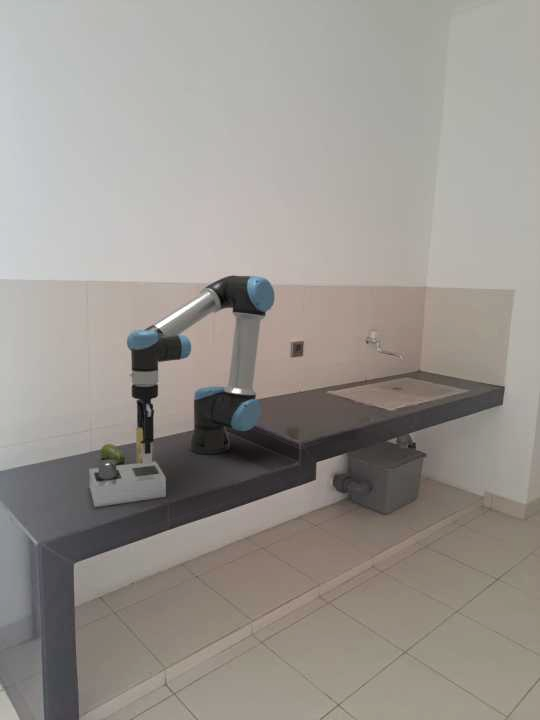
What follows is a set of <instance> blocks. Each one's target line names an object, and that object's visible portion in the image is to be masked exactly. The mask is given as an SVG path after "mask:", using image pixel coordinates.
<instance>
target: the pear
mask: <svg viewBox="0 0 540 720" xmlns="http://www.w3.org/2000/svg"><path fill="white" fill-rule="evenodd" d="M100 457H102V458H103V460H115V461H116V465H117V464H122V463H125V459H126V457H125V454H124V453H123V452H122V451H121V450H120V449H119V448H118V447H117V446H116V445H114V444H113V443H107V444H105V445H103V446H102V447H101V449H100Z"/></svg>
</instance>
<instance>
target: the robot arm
mask: <svg viewBox="0 0 540 720" xmlns="http://www.w3.org/2000/svg"><path fill="white" fill-rule="evenodd" d="M274 303H275V290H274V287H273V285H272V283H271V282H270V281H269V280H268V279H267V278H265V277H262V276H261V277H260V276H257V275H255V276H254V275H252V276H250V275H228V276H224V277H223V278H220V279H218V280H216V281H213V282H211V283H210V284H209V285H207V286H205V287H204V288H203V289H201V290H200V292H199V295H197V296H195V297H193V298H192V299H190V300H189V301H188V302H186V303H184V304H182V305H181V306H180V307H178V308H177V309H175V310H173V311H171V312H170V313H169V314H167V315H166V316H164V317H162V318H161V319H159V320H157V321H156V322H154V323H153V324H151V325H150V326H149V327H146V328H145V329H137V330H133V331H131V332H130V333H129V334H128V336H127V339H126V345H127V348H128V350H130V352H131V353H130V354H131V359H130V360H131V372H130V373H129V377H131V383H132V385H131V397H132V398H133V399H136V401H135V402H136V412H137V413H136V416H137V418H136V421H137V422H136V428H137V427H140V426H142V430H143V441H140V442H141V443H142V464H148V463H152V442H155V441H154V439H153V428H154V415H155V414H154V413H155V410H154V403H152V399H156V398H158V397H159V385H158V383H159V363H162V362H163V363H164V362H169V361H180V360H184V359H186V358H188V357H189V356H190V355H191V352H192V343H191V340H190V338H189V337H188V336H186V335H184V334H182V333H183V332H185V331H187V330H188V329H189V328H191V327H193V326H194V325H195V324H197V323H199V322H200V321H201V320H203V319H205V318H206V317H207V316H209V315H210V314H212V313H218V312H219V311H221V310H224V309H231V308H232V314H233V316H234V318H235V327H234V333H233V334H234V335H233V343H232V351H231V352H232V353H231V361H230V369H229V377H228V378H229V379H228V385H227V386H226V387H225V386H208V387H200V388H198V389H196V390H195V392H194V398H193V429H192V433H191V436H190V439H189V442H188V443H189V445H188V448H189V450H190V451H191V452H193V453H196V454H201V455H215V454H216V455H217V454H222V453H225V452H227V451H229V450H230V445H231V444H230V443H231V442H230V439H229V435H228V433H227V432H228V431H227V430H226V428H228V429H229V428H231V429H233V430H235V431H242V432H247V431H249V430H252V429H253V428H254V427H255V426H256V424H257V423H258V422H259V419H260V416H261V412H262V408H261V405H260V402H259V401H258V400H257V399H256V398H257V396H256V395H257V393H256V391H255V390H254V388H253V386H254V378H255V368H256V360H257V354H258V353H257V352H258V344H259V343H258V342H259V337H260V327H261V321H262V320H263V319H265V317H266V314H267V312H268V311H269V310H271V309H272V307H273V305H274Z"/></svg>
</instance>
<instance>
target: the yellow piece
mask: <svg viewBox="0 0 540 720" xmlns="http://www.w3.org/2000/svg"><path fill="white" fill-rule="evenodd" d="M135 431H136V432H135V434H136V435H135V436H136V438H135V439H136V440H135V443H136V447H135V448H136V450H135V451H136V452H135V453H136V454H135V455H136V456H135V457H136V458H135V459H136V461H135V462H136V463H142V443H141V442H140V441H143V430H142V426H140V427H137V426H136V427H135ZM154 432H155V431H154V427H153V439H154V438H155V437H154ZM154 442H155V441H154ZM154 442H152V462H153V461H155V460H154V456H155V455H154V454H155V453H154V451H155V450H154V449H155V448H154V447H155V446H154Z"/></svg>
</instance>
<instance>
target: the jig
mask: <svg viewBox="0 0 540 720" xmlns="http://www.w3.org/2000/svg"><path fill="white" fill-rule="evenodd" d="M88 474H89V475H88V476H89V479H88V480H89V491H90V496H91V499H92V503H93V508H98V507H106V506H111V505H119V504H125V503H134V502H140V501H146V500H153V499H161V498H166V497H167V496H166V495H167V484H166V483H167V482H166V481H167V479H166V476H165V474H164V472H163V470H162V468H161V467H160V465H159V464H158V462H157V461H156V460H154V461H153V462H152V463H148V464H142V463H138V462H136V463H130V464H129V463H128V464H121V465H117V464H116V461H115V460H111V459H108V460H107V459H102V460H99V461H98V466H97V467H94V468H88Z"/></svg>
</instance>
